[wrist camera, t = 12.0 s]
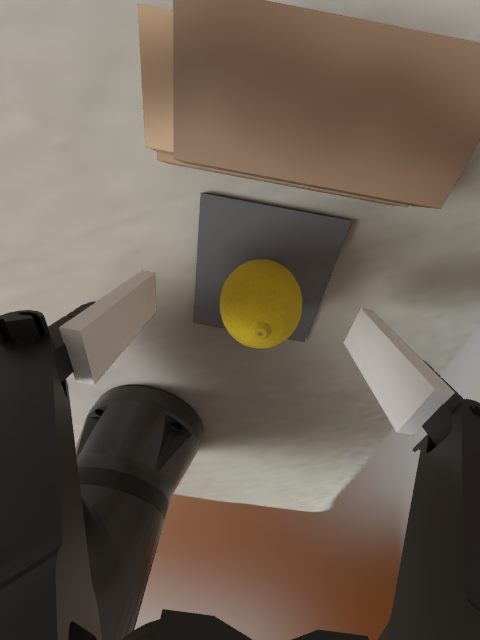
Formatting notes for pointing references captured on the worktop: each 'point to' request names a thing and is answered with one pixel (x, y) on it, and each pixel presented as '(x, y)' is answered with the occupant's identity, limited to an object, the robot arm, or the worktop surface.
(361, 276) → the worktop surface
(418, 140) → the wooden blocks
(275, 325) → the lemon
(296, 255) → the rubber mat
